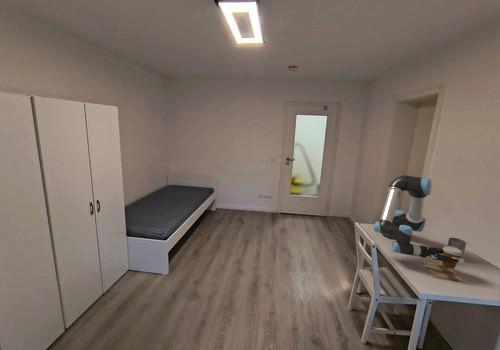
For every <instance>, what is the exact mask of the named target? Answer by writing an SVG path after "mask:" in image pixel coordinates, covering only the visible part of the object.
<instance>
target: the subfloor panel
mask: <svg viewBox="0 0 500 350" xmlns="http://www.w3.org/2000/svg"><path fill="white" fill-rule="evenodd" d="M422 264H423V266H424V267H425V268H426V269H427V271H428V272H429V274H430V275H431V276H432V277H433V278H437V279H441V280H447V281H451V282H458V283H463V284H465V280H463V279H462V277H460V275H459V274H457V272H456V271H455V270H454V269H451V268H448V267H445V266H444V265H443V264H437V263H432V262H427V261H426V262H425V261H422Z"/></svg>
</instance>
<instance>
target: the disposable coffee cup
mask: <svg viewBox="0 0 500 350" xmlns="http://www.w3.org/2000/svg"><path fill="white" fill-rule="evenodd" d="M442 248H443V254H442V255H444V256H447V257H454V258H460V256H461V255H462V252H461V250H459V249H457V248H455V247H451V246H447V245H444V246H443V247H442ZM441 263H442V264H441V265H444V266H445V267H448V268H451V269H453V270H454V269H456V267H457V264H458V263H457V262H452V263H448V262H444V261H441Z"/></svg>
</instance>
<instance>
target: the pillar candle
mask: <svg viewBox="0 0 500 350" xmlns="http://www.w3.org/2000/svg"><path fill="white" fill-rule="evenodd" d="M446 246H451V247H455V248H457V249H459V250H461V252H462V255H461V256H460V259H464V255H465V250H466V246H467V242H466V241H465V240H463V239H460V238H456V237H449V238H448V242H447V245H446Z"/></svg>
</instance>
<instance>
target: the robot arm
mask: <svg viewBox="0 0 500 350" xmlns="http://www.w3.org/2000/svg"><path fill="white" fill-rule="evenodd" d="M387 190H388V193H387V196H386V200H385V203H384V206H383V210H382V212H381V217H380V218H379V221H375V223H374V226H373V230H374V231H375V232H377V233H379V234H381V235H382V236H383V237H385V238H388V239H390V240H394V241H392V243H391V250H392V252H393V253H395V254H396V253H397V254H400V255H401V254H403V255H407V256H411V257H419V258H424V259H425V258H427V257H430V258H432V260H434V261H441V262H443V261H444V262H448V263H452V262H457V264H458V263H459V264H464V265H465V259H464V258H463V259H460V258H454V257H447V256H444V255H443V247H441V248H440V247H434V246H426V245H420V244H415V243H411V241H412V237H413V232H418V233H421V232H423V230H424V227H425V224H426V218H424V215H423V210H424V203H425V198H426V197H427V196H430V195H431V193H432V180H431V179H430V178H426V177H422V176H421V177H420V176H415V175H408V174H403V175H399V176H397V177H395V178H394V179H393V180H392V181H391V182H390V183H389V185H388V188H387ZM404 191H405V192H408V194H409V196H410V198H409V207H408V213H405V212H404V211H403V210H400V209H399V210H398V209H397V207H398V204H399V200H400V197H401V195H402V194H403V193H404Z"/></svg>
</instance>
